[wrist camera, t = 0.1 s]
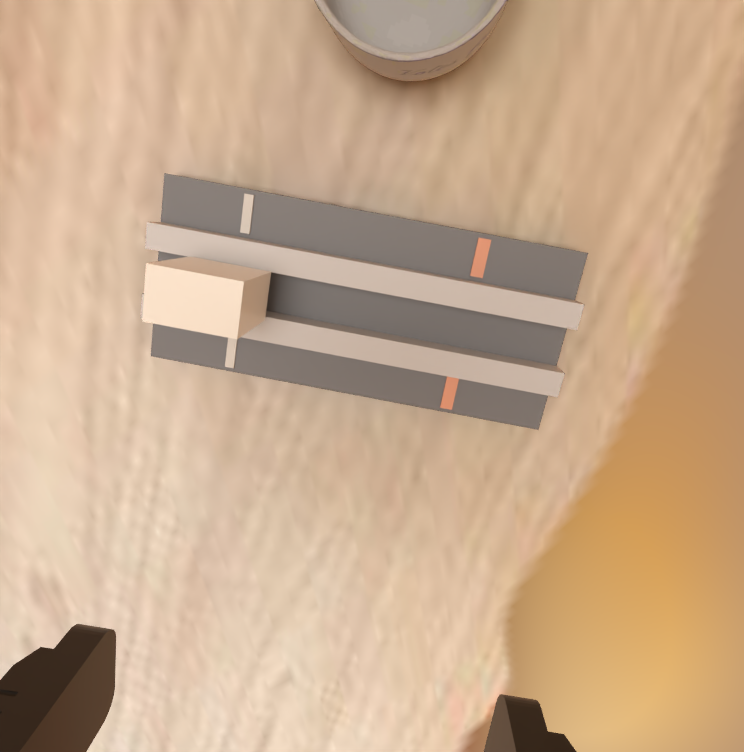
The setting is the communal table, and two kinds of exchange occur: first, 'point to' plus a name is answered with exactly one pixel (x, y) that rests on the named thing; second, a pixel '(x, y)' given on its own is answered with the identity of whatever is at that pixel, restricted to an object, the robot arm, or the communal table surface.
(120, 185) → the communal table surface
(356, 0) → the teacup
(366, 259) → the track
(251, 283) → the fader
